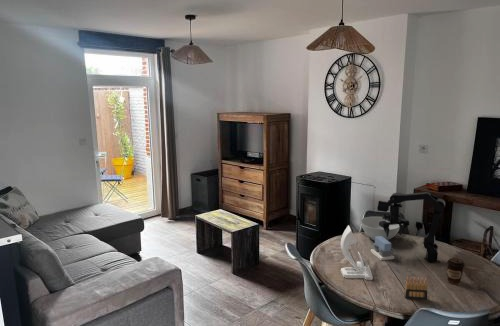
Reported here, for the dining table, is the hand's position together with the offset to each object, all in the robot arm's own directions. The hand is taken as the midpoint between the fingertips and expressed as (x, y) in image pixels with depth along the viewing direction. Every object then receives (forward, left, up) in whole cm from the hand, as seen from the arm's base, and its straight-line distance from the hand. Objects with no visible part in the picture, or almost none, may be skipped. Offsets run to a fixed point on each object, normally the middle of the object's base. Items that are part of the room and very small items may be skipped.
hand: (393, 235), depth 237 cm
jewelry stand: (-16, +35, -12) cm, 41 cm away
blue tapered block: (-2, +8, -6) cm, 11 cm away
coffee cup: (-41, -12, -12) cm, 44 cm away
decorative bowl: (+23, -3, -12) cm, 26 cm away
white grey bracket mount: (-2, +9, -12) cm, 15 cm away
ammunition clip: (-51, +18, -12) cm, 55 cm away
